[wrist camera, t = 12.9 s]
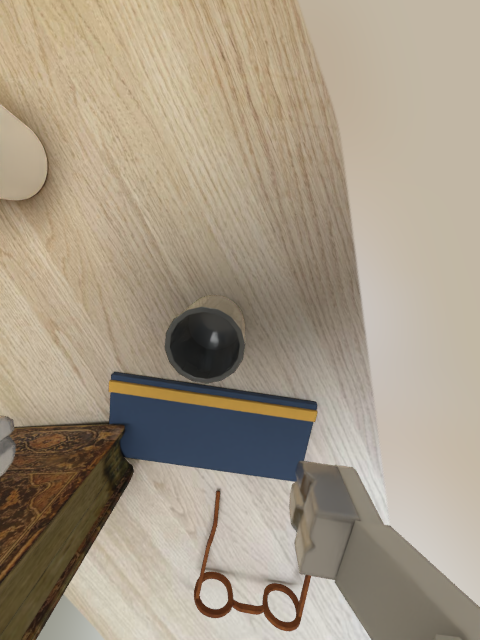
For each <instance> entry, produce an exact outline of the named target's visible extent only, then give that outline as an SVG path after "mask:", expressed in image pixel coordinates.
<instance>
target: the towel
mask: <svg viewBox="0 0 480 640" xmlns="http://www.w3.org/2000/svg"><path fill="white" fill-rule="evenodd" d="M109 392H111V395H110V418H109V425H114V424H122V425H124V426H125V433H124V435H123V436H122V438H121V439H120V449H121V452H122V455H123V456H124V457H127V458H134V459H141V460H148V461H155V462H162V463H169V464H176V465H183V466H190V467H197V468H204V469H211V470H218V471H225V472H232V473H239V474H246V475H253V476H260V477H267V478H274V479H281V480H288V481H295V482H296V481H297V477H296V473H295V471H296V467H297V464H298V462H299V460H300V461H304V458H305V454H306V450H307V446H308V442H309V438H310V434H311V430H312V426H313V422H315V420H316V416H317V411H316V409H317V403H316V402H313V401H306V400H299V399H293V398H286V397H279V396H273V395H266V394H259V393H253V392H246V391H239V390H232V389H226V388H219V387H212V386H206V385H199V384H192V383H185V382H179V381H172V380H165V379H159V378H152V377H145V376H139V375H132V374H125V373H118V372H114V373H113V374H112V375H111V380H110V381H109Z"/></svg>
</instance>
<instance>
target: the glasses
mask: <svg viewBox="0 0 480 640" xmlns="http://www.w3.org/2000/svg"><path fill="white" fill-rule="evenodd" d="M219 499H220V491H216V501H215V511H214V522H213V526H212V530H211V534H210V537H209V539H208V542H207V546H206V550H205V555H204V560H203V564H202V569H201V573H200V577H199V578H198V580H197V582H196V586H195V590H194V600H195V604H196V606H197V608H198V610H199V611H200V612H201V613H202V614H204V615H205V616H207V617H211V618H220V617H223V616H225V615H226V614H227V613H229V612H230V610H231V608H232V607H233V608H235V609H236V610H237V611H240V612H244V613H250V614H256V615H258V614H261V613H263V612H264V614H265V617H266V618H267V619H268V620H269V621H270V622H271V623H272V624H273V625H274V626H275V627H277V628H278V629H281V630H284V631H293V630H295V629H297V628H298V626H299V624H300V621H301V617H302V612H303V608H304V604H305V600H306V595H307V591H308V587H309V583H310V578H311V576H310V575H305V580H304V584H303V588H302V592H301V597H300V601H298V599H297V597H296V595H295V594H294V593H293V591H292V590H290V589H289V588H288V587H286V586H284V585H282V584H278V583H273V584H269V585H268V586H266V588H265V590H264V595H263V605H261V606H254V605H248V604H242V603H239V602H237V601H235V600H233V592H232V587H231V584H230V582H229V580H228V579H227V578H226V577H225V576H224V575H222V574H220V573H218V572H206V573H204V572H205V567H206V563H207V558H208V554H209V549H210V546H211V543H212V541H213V538H214V534H215V531H216V527H217V521H218V510H219ZM207 579H217V580H219V581H221V582H222V583H223V584H224V585H225V586H226V589H227V592H228V602H227V604H226V605H225V606H224V607H223V608H221V609H210V608H208V607H206V606H205V605H204V604H203V603H202V601H201V599H200V596H199V594H200V590H201V585H202V583H203V582H204V581H205V580H207ZM275 590H277V591H282V592H284V593H286V594H287V595H288V596H289V597H290V598H291V599H292V601H293V603H294V605H295V609H296V618H295V620H294V621H292V622H283V621H280V620H278V619H277V618H275V617H274V615H273V614H272V613H271V612H270V610H269V607H268V602H267V598H268V594H269V593H270V592H271V591H275Z"/></svg>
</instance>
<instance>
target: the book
mask: <svg viewBox="0 0 480 640" xmlns="http://www.w3.org/2000/svg"><path fill="white" fill-rule="evenodd" d="M124 433H125V426H124V425H122V424H114V425H74V426H49V427H23V428H14V431H13V432H12V434H11V435H10V437H11V438H12V440H13V441H14V442H15V445H16V452H15V456H14V460H13V462H12V463H11V465H10V466H9V468H8V469H7V471H6V472H5V473H4V474H3V475H2V476H1V477H0V640H36V639H37V637H38V635H39V634H40V632H41V630H42V629H43V627H44V625H45V624H46V622H47V620H48V619H49V617H50V615H51V613H52V612H53V610H54V608H55V607H56V605H57V603H58V602H59V600H60V598H61V596H62V595H63V593H64V592H65V590H66V588H67V586H68V585H69V583H70V581H71V580H72V578H73V576H74V575H75V573H76V571H77V570H78V568H79V566H80V565H81V563H82V561H83V559H84V558H85V556H86V554H87V553H88V551H89V549H90V548H91V546H92V544H93V543H94V541H95V539H96V538H97V536H98V534H99V532H100V531H101V529H102V527H103V526H104V524H105V522H106V521H107V519H108V517H109V516H110V514H111V512H112V511H113V509H114V507H115V505H116V504H117V502H118V500H119V499H120V497H121V495H122V494H123V492H124V490H125V489H126V487H127V485H128V483H129V482H130V480H131V477H132V475H133V472H134V469H133V466H132V465H131V464H130V463H128V462H127V460H126V459H125V458H124V456H123V455H122V452H121V449H120V439H121V438H122V436H123V435H124Z"/></svg>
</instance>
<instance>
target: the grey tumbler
mask: <svg viewBox="0 0 480 640" xmlns="http://www.w3.org/2000/svg"><path fill="white" fill-rule="evenodd" d="M244 349H245V322H244V317H243V313H242V312H241V310H240V308H239V307H238V306H237V304H236V303H235V302H233V301H232V300H231V299H229V298H227V297H224V296H221V295H208V296H204V297H201V298H199V299H198V300H197V301H195V302H194V303H193V304H191V305H190V306H189V307H188V308H187V309H186V310H184V311H183V312H182V313H181V314H180V315H178V316H177V317H176V318H175V319H174V320H173V321H172V323H171V325H170V327H169V328H168V330H167V332H166V339H165V350H166V353H167V356H168V359H169V362H170V364H171V365H172V366H173V367H174V368H175V369H176V371H177V372H178V373H179V374H180V375H182V376H184V377H186V378H188V379H189V380H191V381H194V382H201V383H212V382H217V381H221V380H224V379H225V378H227V377H228V376H229V375H231V374H232V373H234V372H235V371H236V369H237V368H238V366H239V365H240V363H241V362H242V360H243V355H244Z"/></svg>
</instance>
